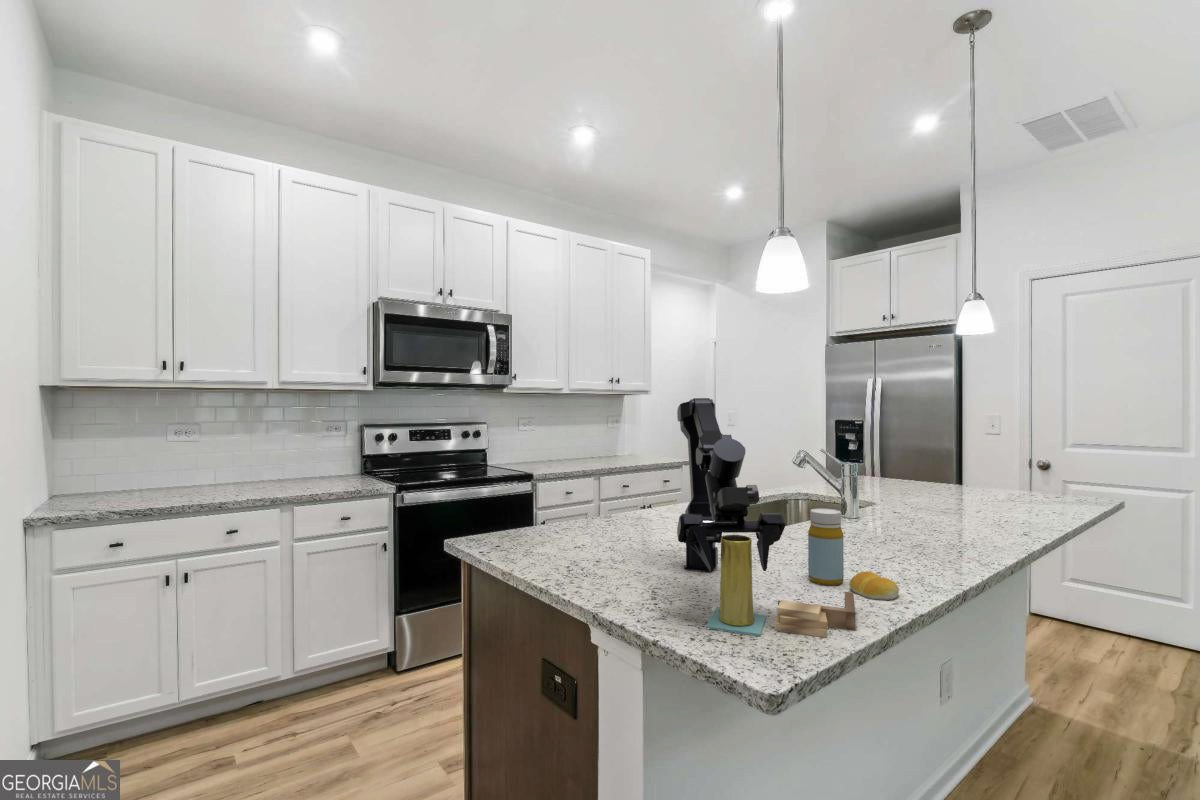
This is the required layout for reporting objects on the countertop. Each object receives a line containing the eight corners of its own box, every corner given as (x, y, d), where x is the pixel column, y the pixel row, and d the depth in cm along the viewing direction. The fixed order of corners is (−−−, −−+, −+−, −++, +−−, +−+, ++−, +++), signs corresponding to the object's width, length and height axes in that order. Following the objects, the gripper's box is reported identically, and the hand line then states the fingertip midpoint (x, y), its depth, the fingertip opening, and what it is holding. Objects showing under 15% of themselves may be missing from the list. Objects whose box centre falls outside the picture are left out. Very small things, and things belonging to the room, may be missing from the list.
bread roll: (877, 604, 111) (877, 582, 111) (842, 590, 119) (842, 570, 119) (909, 598, 114) (909, 577, 114) (873, 585, 122) (873, 566, 122)
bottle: (846, 587, 120) (846, 514, 120) (811, 585, 121) (810, 513, 122) (839, 577, 127) (839, 508, 127) (806, 575, 128) (806, 507, 128)
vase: (711, 619, 101) (711, 537, 101) (733, 611, 105) (733, 532, 105) (739, 629, 97) (739, 544, 97) (761, 620, 101) (761, 538, 101)
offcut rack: (775, 630, 97) (774, 609, 97) (783, 600, 112) (782, 581, 112) (856, 642, 92) (856, 619, 92) (853, 608, 108) (853, 589, 108)
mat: (705, 628, 98) (705, 626, 98) (715, 610, 107) (715, 608, 107) (760, 636, 95) (760, 634, 95) (766, 617, 103) (766, 615, 103)
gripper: (679, 469, 105) (689, 545, 94) (782, 468, 105) (804, 544, 94) (673, 505, 113) (682, 579, 101) (768, 504, 113) (788, 578, 102)
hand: (738, 570), depth 99 cm, fingers open, 9 cm apart
